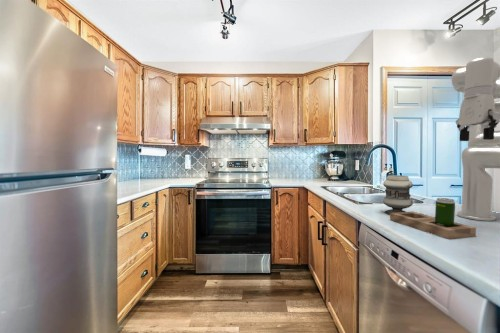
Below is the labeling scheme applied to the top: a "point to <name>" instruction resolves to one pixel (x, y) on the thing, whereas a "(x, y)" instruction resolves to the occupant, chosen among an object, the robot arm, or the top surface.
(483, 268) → the top surface
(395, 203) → the apothecary jar
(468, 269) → the top surface
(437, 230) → the can rack
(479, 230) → the top surface
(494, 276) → the top surface
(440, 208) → the beer can
